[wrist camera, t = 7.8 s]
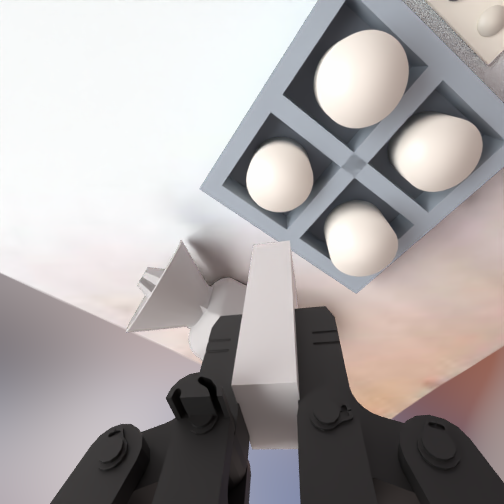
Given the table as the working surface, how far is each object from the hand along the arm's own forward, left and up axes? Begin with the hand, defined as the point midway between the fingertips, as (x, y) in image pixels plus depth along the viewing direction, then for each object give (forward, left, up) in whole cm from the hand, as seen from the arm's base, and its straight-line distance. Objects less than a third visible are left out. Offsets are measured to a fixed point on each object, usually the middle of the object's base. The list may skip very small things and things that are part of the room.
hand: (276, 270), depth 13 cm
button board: (+4, +4, -18) cm, 19 cm away
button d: (0, 0, -17) cm, 17 cm away
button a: (+8, +8, -17) cm, 20 cm away
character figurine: (+5, -17, -18) cm, 25 cm away
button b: (+8, 0, -15) cm, 17 cm away
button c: (0, +8, -15) cm, 17 cm away
